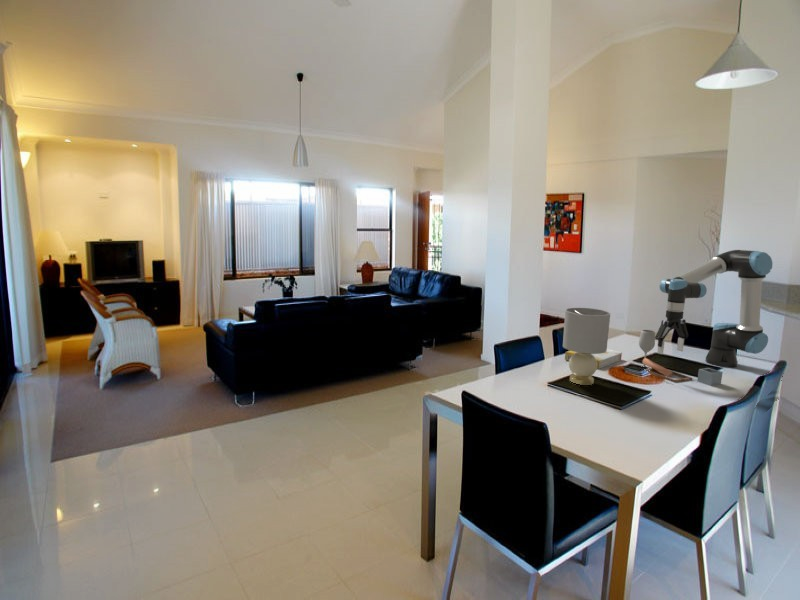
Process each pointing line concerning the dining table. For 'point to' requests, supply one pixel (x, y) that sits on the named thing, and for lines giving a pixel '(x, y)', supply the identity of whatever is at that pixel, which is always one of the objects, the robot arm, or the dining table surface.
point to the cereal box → (601, 357)
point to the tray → (685, 378)
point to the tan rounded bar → (657, 367)
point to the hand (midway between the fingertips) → (670, 351)
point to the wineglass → (647, 341)
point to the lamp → (585, 341)
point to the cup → (709, 376)
